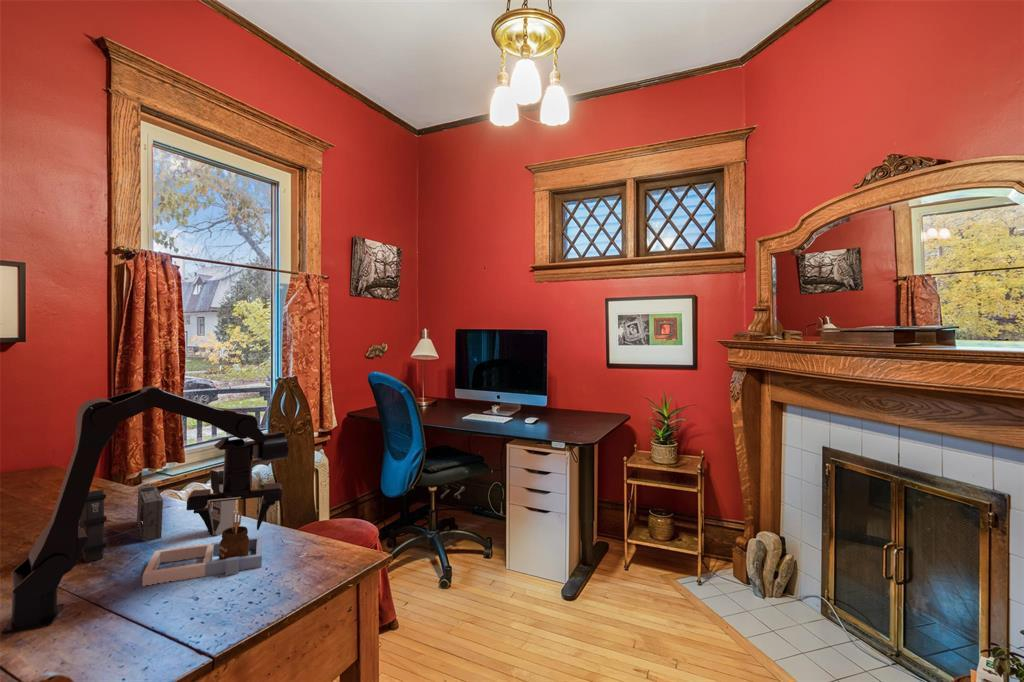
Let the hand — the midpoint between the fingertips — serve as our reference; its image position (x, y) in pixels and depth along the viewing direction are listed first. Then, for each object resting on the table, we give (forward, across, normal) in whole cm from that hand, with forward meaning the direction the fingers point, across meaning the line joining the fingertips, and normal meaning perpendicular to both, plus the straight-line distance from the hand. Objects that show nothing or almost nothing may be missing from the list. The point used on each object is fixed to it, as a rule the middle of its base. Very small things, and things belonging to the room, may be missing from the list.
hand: (235, 532), depth 107 cm
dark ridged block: (+7, +30, -17) cm, 35 cm away
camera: (+7, +21, -27) cm, 35 cm away
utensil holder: (+7, 0, 0) cm, 7 cm away
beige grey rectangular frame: (+6, +5, 0) cm, 8 cm away
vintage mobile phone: (+7, +4, -19) cm, 21 cm away
